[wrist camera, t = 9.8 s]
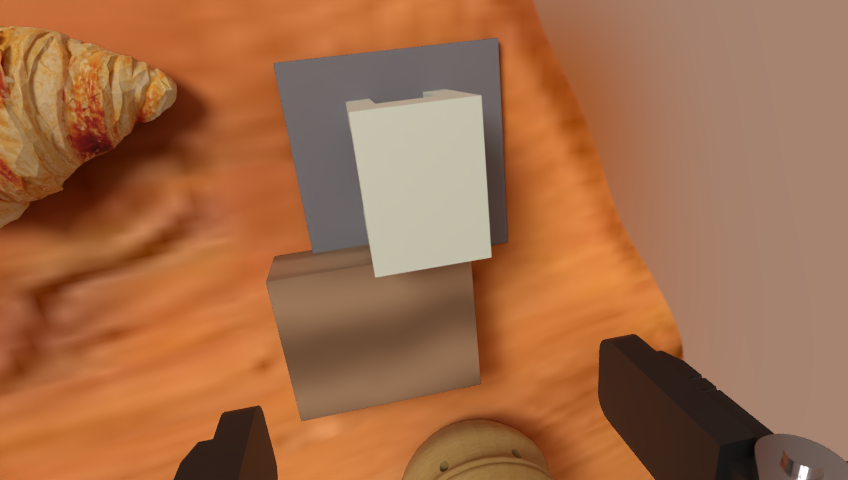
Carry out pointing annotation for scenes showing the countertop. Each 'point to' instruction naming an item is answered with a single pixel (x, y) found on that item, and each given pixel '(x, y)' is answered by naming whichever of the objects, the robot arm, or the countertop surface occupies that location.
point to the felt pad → (380, 82)
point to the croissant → (65, 109)
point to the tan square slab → (371, 330)
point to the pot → (478, 454)
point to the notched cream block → (422, 180)
